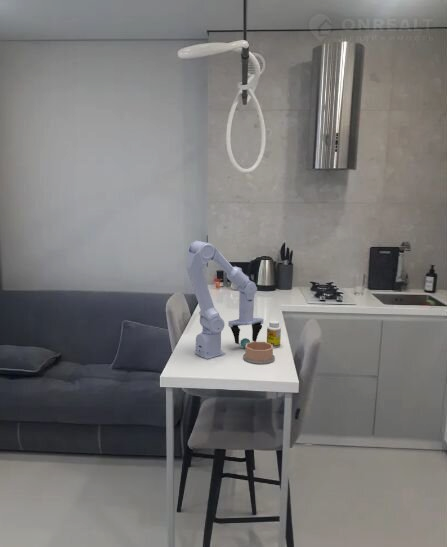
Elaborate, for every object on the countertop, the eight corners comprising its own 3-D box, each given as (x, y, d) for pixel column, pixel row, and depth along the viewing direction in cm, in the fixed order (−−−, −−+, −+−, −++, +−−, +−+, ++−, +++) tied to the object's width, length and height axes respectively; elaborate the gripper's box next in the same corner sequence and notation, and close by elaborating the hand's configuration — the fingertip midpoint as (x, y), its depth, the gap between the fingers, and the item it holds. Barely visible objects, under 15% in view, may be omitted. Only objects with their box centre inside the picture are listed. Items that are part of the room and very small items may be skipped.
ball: (244, 350, 182) (245, 340, 182) (238, 347, 185) (238, 338, 185) (252, 348, 185) (252, 338, 184) (245, 345, 188) (245, 336, 187)
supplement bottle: (263, 345, 189) (264, 321, 187) (273, 342, 192) (274, 319, 190) (272, 349, 184) (273, 324, 183) (282, 346, 188) (284, 322, 186)
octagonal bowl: (258, 366, 165) (258, 353, 164) (236, 357, 174) (236, 344, 173) (281, 359, 173) (281, 347, 172) (259, 351, 182) (259, 338, 181)
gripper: (233, 313, 176) (232, 347, 178) (267, 310, 181) (266, 343, 184) (226, 309, 183) (226, 341, 185) (259, 306, 188) (258, 338, 190)
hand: (245, 342), depth 185 cm, fingers open, 7 cm apart
